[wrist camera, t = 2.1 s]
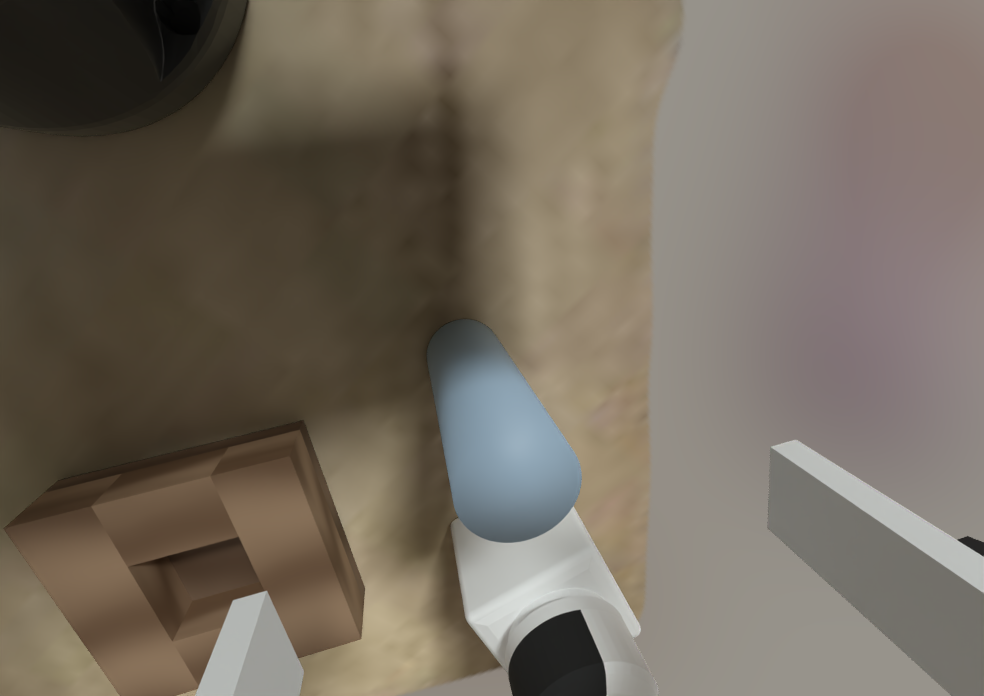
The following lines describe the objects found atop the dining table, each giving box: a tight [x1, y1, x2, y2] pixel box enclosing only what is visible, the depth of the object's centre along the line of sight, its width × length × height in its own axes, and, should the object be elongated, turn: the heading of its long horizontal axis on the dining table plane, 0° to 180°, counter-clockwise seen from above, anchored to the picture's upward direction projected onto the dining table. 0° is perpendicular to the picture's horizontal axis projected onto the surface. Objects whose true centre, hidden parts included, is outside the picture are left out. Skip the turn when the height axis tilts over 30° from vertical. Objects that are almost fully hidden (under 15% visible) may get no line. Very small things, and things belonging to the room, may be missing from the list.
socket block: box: [3, 421, 365, 696], centre depth 24 cm, size 12×12×4 cm
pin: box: [427, 319, 582, 543], centre depth 20 cm, size 4×4×12 cm
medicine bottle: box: [450, 506, 659, 696], centre depth 24 cm, size 7×7×12 cm
